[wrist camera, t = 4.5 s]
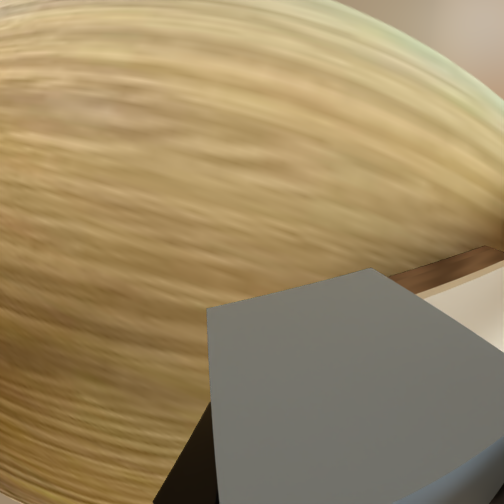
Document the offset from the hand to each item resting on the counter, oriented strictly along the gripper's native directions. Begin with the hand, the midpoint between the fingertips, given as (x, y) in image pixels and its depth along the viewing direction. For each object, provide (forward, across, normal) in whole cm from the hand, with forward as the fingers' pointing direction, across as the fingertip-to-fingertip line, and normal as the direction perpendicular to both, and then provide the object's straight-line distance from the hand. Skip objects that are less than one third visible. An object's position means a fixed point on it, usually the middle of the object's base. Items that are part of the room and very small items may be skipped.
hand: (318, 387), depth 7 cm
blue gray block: (+1, 0, 0) cm, 1 cm away
